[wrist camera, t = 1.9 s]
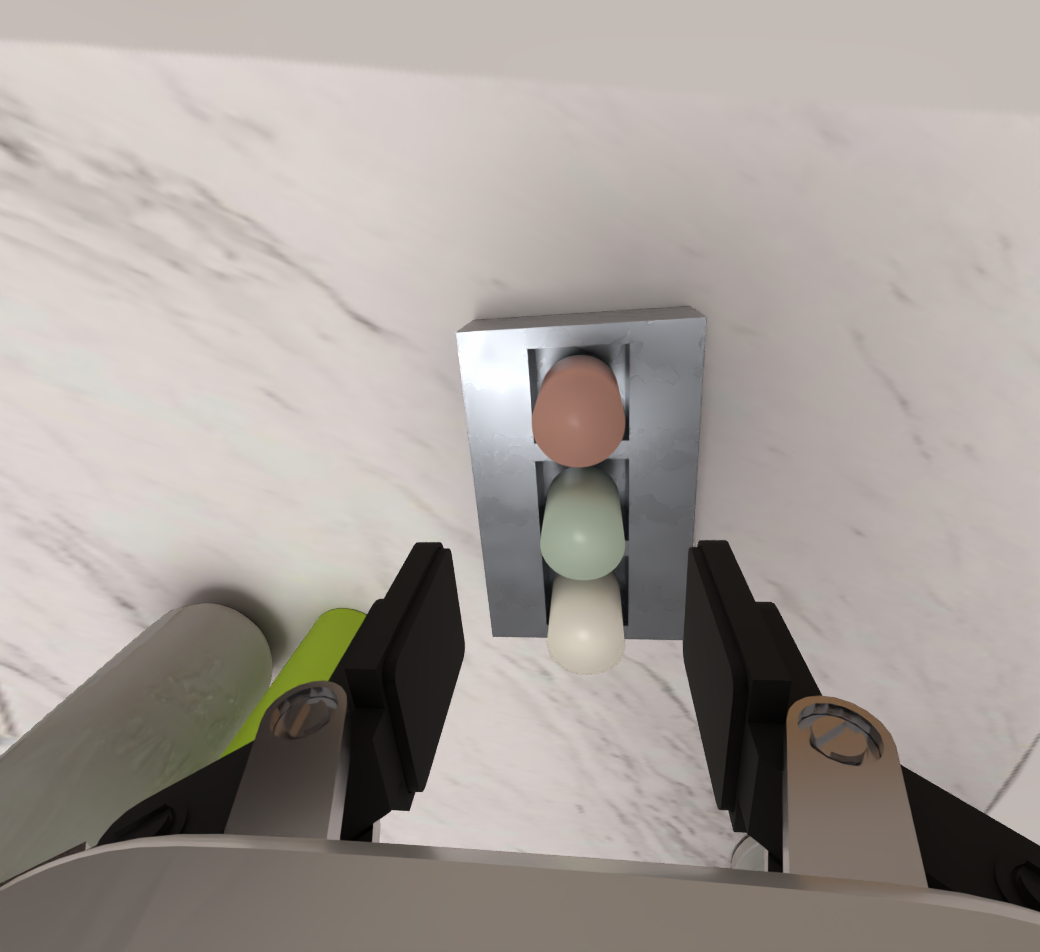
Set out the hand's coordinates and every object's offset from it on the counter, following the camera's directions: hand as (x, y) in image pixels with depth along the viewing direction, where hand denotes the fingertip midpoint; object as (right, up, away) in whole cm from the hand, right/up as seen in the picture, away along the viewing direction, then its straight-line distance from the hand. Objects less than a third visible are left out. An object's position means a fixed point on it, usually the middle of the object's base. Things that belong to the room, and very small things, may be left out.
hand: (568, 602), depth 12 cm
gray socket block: (+3, +3, +22) cm, 22 cm away
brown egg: (+2, +7, +16) cm, 17 cm away
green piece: (+2, +2, +18) cm, 18 cm away
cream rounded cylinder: (+3, -4, +21) cm, 21 cm away
